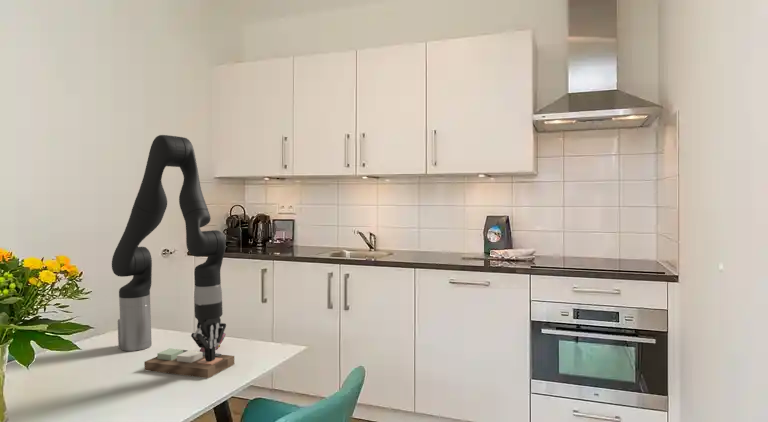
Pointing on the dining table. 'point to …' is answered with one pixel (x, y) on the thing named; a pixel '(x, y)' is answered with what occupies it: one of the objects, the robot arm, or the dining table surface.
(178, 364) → the brown wooden flat block
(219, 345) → the video game controller
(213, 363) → the key terracotta
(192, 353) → the key ivory
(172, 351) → the key sage
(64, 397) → the dining table surface
